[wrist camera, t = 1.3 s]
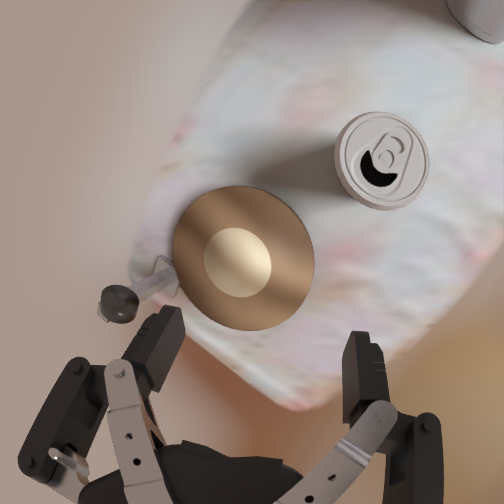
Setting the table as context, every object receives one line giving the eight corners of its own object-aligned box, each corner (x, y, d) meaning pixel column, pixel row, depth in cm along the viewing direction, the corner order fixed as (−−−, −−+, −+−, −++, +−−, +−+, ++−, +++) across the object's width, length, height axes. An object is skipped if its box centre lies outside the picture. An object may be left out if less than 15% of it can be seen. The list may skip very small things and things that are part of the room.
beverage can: (324, 173, 26) (311, 166, 15) (360, 125, 24) (370, 86, 13) (374, 213, 25) (395, 235, 14) (409, 165, 23) (453, 154, 12)
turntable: (209, 161, 28) (203, 160, 27) (343, 235, 26) (343, 237, 24) (163, 278, 34) (157, 281, 33) (269, 348, 31) (266, 354, 30)
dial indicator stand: (162, 255, 35) (88, 288, 23) (191, 274, 34) (121, 318, 22) (155, 278, 36) (86, 316, 25) (181, 298, 36) (116, 345, 24)
